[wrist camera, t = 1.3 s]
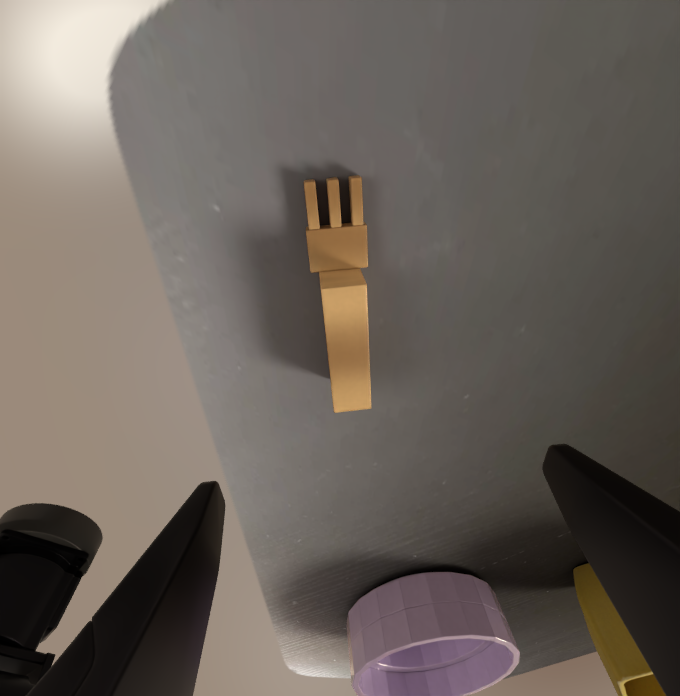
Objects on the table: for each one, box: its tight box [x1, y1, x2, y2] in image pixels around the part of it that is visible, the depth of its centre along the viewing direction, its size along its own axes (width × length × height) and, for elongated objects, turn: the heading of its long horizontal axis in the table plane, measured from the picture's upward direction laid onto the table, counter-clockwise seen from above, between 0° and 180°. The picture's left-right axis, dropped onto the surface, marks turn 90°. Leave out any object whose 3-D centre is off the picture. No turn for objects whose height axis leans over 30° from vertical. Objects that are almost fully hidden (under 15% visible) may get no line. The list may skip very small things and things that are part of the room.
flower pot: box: [573, 563, 666, 696], centre depth 32 cm, size 9×9×9 cm
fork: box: [304, 175, 371, 413], centre depth 17 cm, size 11×3×3 cm, turn 4°
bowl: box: [346, 572, 520, 696], centre depth 35 cm, size 15×15×6 cm
